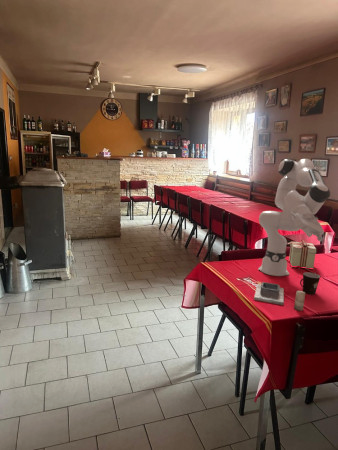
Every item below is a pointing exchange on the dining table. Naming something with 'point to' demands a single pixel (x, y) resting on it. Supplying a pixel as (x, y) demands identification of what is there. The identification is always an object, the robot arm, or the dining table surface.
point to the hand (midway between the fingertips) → (315, 238)
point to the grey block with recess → (269, 293)
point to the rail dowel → (299, 300)
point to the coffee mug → (310, 282)
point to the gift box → (302, 254)
